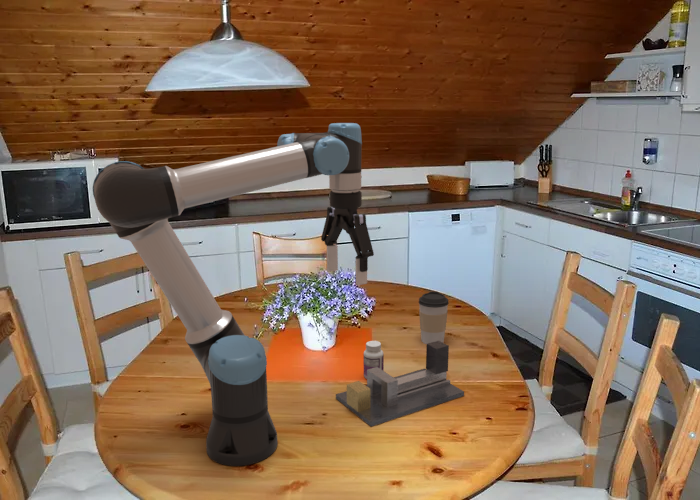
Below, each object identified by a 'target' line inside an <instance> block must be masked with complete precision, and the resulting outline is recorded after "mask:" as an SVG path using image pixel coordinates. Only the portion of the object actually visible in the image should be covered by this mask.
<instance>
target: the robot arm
mask: <svg viewBox="0 0 700 500" xmlns="http://www.w3.org/2000/svg"><path fill="white" fill-rule="evenodd" d="M362 138H363V137H362V129H361V125H359V124H358V123H356V122H355V123H354V122H336V123H335V122H334V123H330V124H329V125H328V130H327V131H326V132H306V133H305V132H300V133H298V132H297V133H296V132H292V133H286V134H285V133H284V134H281V135H280V136H279V137H278V140H277V144H276V145H277V146H273V147H269V148H265V149H260V150H255V151H251V152H247V153H246V152H245V153H243V154H236V155H232V156H228V157H225V158H220V159H215V160H211V161H207V162H201V163H199V164H197V163H196V164H194V165H187V166H184V167H180V168H174V169H173V168H171V167H169V166H167V165H164V166H159V167H158V166H157V167H152V168H144V167H142V166H141V165H140V164H138V163H135V162H132V161H127V160H125V161H124V160H123V161H122V160H121V161H116V162H115V161H114V162H112V163H110V164H108V165H106V166H104V167H103V168H102V169H101V170H100V171H99V172H98V173H97V174H96V176H95V178H94V179H93V184H92V195H93V198H94V202H95V203H94V204H95V206H96V207H97V208H96V209H97V210H98V212H99V213H100V215H101V217H102V218H104V219H105V220H106V221H107V222H109V224H110V226H111V227H112V229H113V230H114V232H115V234H116V235H117V236H118V238H119V239H122V240H125V241H129V242H130V243H131V244H132V246H133V247H134V249H135V250H136V253H137V254H138V255H139V257H140V258H141V260H142V262H143V263H144V264H145V266H146V268H147V270H148V271H149V272H150V274H151V276H152V277H153V279H154V280H155V282H156V283H157V285H158V286H159V288H160V290H161V291H162V293H163V294H164V296H165V297H166V299H167V301H168V302H169V304H170V305H171V307H172V308H173V310H174V312H175V313H176V315H177V316H178V318H179V320H180V321H181V322H182V324H183V326H184V328H185V329H186V333H185V336H184V340H185V341H186V343H187V345H188V347H189V348H190V350H191V352H192V353H193V355H194V356H195V358H196V359H197V361H198V363H199V364H200V366H201V367H202V369H203V371H204V374H205V376H206V379H207V381H208V382H209V386H210V394H211V396H210V397H211V409H212V418H211V421H210V425H209V429H208V431H207V432H208V433H207V435H206V439H205V441H206V442H205V444H206V445H205V447H206V454H207V456H208V458H210V460H212V461H213V462H215V463H217V464H220V465H225V466H229V467H230V466H231V467H238V466H239V467H240V466H249V465H253V464H256V463H259V462H261V461H264V460H265V459H267V458H269V457H270V456H272V455H273V453H274V452H276V450H277V447H278V443H279V442H278V432H277V429H276V427H275V425H274V422H273V420H272V416H271V415H270V413H269V404H268V402H269V401H268V382H267V380H268V379H267V378H268V376H267V365H268V363H267V362H268V361H267V359H268V358H267V355H266V351H265V347H264V345H263V344H262V342H261V341H259V339H257V338H255V337H249V335H245V334H244V331H243V330H242V329H241V327H240V326H239V324H238V322H237V320H236V319H235V318H234V316H233V314H232V312H231V311H229V310H225V309H221V307H220V306H219V304H218V302H217V301H216V299H215V297H214V296H213V293H212V292H211V290H210V289H209V287H208V285H207V283H206V282H205V281H204V278H203V277H202V275H201V274H200V272H199V270H198V269H197V267H196V265H195V264H194V262H193V260H192V259H191V258H190V255H189V254H188V252H187V251H186V249H185V247H184V246H183V244H182V242H181V241H180V239H179V237H178V236H177V233H176V232H175V230H174V229H173V227H172V225H171V224H170V222H169V219H170V218H174V217H178V216H181V214H182V212H183V211H184V210H185V209H188V208H193V207H196V206H200V205H204V204H208V203H213V202H215V201H216V202H217V201H221V200H224V199H228V198H232V197H237V196H239V195H244V194H248V193H252V192H255V191H260V190H263V189H267V188H268V189H269V188H272V187H276V186H279V185H284V184H287V183H292V182H296V181H301V180H304V179H308V178H313V177H317V176H321V175H324V176H328V178H329V182H328V183H329V186H328V187H329V189H330V190H331V191H330V192H329V206H328V207H327V208H326V217H325V221H324V226H323V230H322V235H321V241H322V242H324V245H325V246H326V272H328V273H330V272H335V271H338V270H339V266H338V265H339V262H338V261H339V260H338V259H339V257H338V256H339V253H338V251H339V250H338V239H339V237H340V235H341V233H342V231H345V232H346V234H347V235H349V238H350V240H351V243H352V245H353V248H354V250H355V252H356V257H354V258H355V285H356V286H362V285H366V284H368V268H369V265H368V261H369V260H368V258H369V257H373V256H374V254H375V253H374V249H373V245H372V242H371V236H370V233H369V229H368V225H367V215H366V214H365V213H363V214H362V213H361V214H358V209H359V208H361V207H362V205H363V201H362V200H363V199H362V198H363V197H362V195H363V194H362V191H361V189H362V146H363V142H362V140H363V139H362Z"/></svg>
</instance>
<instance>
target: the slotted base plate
mask: <svg viewBox="0 0 700 500" xmlns="http://www.w3.org/2000/svg"><path fill="white" fill-rule="evenodd" d="M424 370H427V369H426V367H425V368H424V367H423V368H421V369H417V370H414V371H411V372H407V373H404V374H400V375H398V376H392V375H391V374H389V373H387V372H386V371H383V370H381V369H380V368H378V367H375V368H371V369H368V370H367V379H366V384H365V385H366V386H367V387H368V388H370V408H369V409H366V410H363V411H360V412H357V411H356V410H355V409H353V408H352V407H351V406H350V405H348V404H347V390H345V391H341V392H339V393H335V399H336V400H337V401H339V402H340V403H341V404H342V405H343V406H344V407H345V408H347V410H349V411H350V412H352V413H353V414H355V415H356V416H357V417H358V418H360V419H361V420H362V421H363V422H364V423H366V424H367V425H368V426H369V427H371V428H372V427H375V426H378V425H381V424H383V423H386V422H389V421H392V420H396V419H399V418H402V417H405V416H407V415H411V414H414V413H416V412H417V413H418V412H419V411H423V410H425V409H429V408H431V407H432V408H433V407H434V406H437V405H440V404H443V403H446V402H449V401H453V400H456V399H459V398H462V397H464V396H465V391H464V390H462V389H460V388H459V387H457V386H455V385H454V384H453V383H451V380H450V379H446V380H445V381H442V382H439V383H435V384H432V385H429V386H426V387H422V388H419V389H416V390H413V391H409V392H406V393H403V394H400V395H398V380H397V378H400V377H404V376H407V375H410V374H414V373H417V372H421V371H424Z"/></svg>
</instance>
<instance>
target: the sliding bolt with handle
mask: <svg viewBox="0 0 700 500" xmlns="http://www.w3.org/2000/svg"><path fill="white" fill-rule="evenodd" d="M425 348H426V350H425V353H426V354H425V369H426V370H424V371H421V372H417V373H414V374H410V375H407V376H404V377H400V378H397V380H398V395H400V394H403V393H406V392H409V391H413V390H416V389H419V388H422V387H426V386H429V385H432V384H435V383H439V382H442V381H445V380H447V372H448V371H449V349H450V346H449V345H448V344H446V343H443V342H441V341H435V342H431V343H428V344H426V347H425Z"/></svg>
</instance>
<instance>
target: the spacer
mask: <svg viewBox="0 0 700 500" xmlns="http://www.w3.org/2000/svg"><path fill="white" fill-rule="evenodd" d="M366 385H367V384H364V383H363V382H361V381H360V380H358V381H354V382H351V383H347V384H346V391H347V404H348V405H350V406H351V407H352V408H353V409H355V410H356V411H357V412H360V411H363V410H366V409H369V408H370V388H368V387H367V386H366Z"/></svg>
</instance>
